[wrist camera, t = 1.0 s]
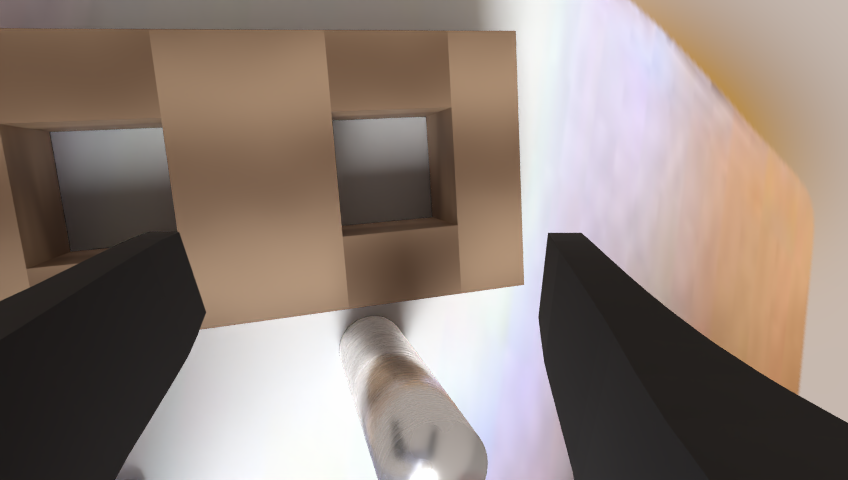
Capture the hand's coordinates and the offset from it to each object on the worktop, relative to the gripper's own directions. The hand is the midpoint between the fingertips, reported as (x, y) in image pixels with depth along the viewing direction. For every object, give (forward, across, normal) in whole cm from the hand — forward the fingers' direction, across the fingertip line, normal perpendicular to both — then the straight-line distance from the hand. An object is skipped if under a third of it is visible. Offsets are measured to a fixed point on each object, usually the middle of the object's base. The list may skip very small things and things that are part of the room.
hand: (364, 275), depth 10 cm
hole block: (+10, +6, +3) cm, 13 cm away
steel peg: (+9, +2, +10) cm, 14 cm away
